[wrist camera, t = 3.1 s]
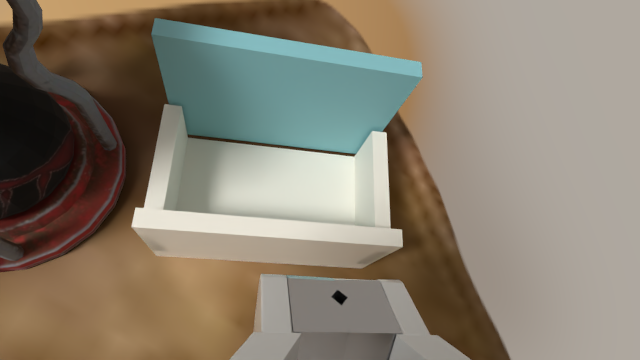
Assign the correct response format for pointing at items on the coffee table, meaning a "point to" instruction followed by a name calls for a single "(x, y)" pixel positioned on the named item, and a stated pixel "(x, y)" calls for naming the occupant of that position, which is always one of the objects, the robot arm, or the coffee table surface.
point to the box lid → (278, 87)
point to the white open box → (266, 201)
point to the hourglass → (50, 154)
